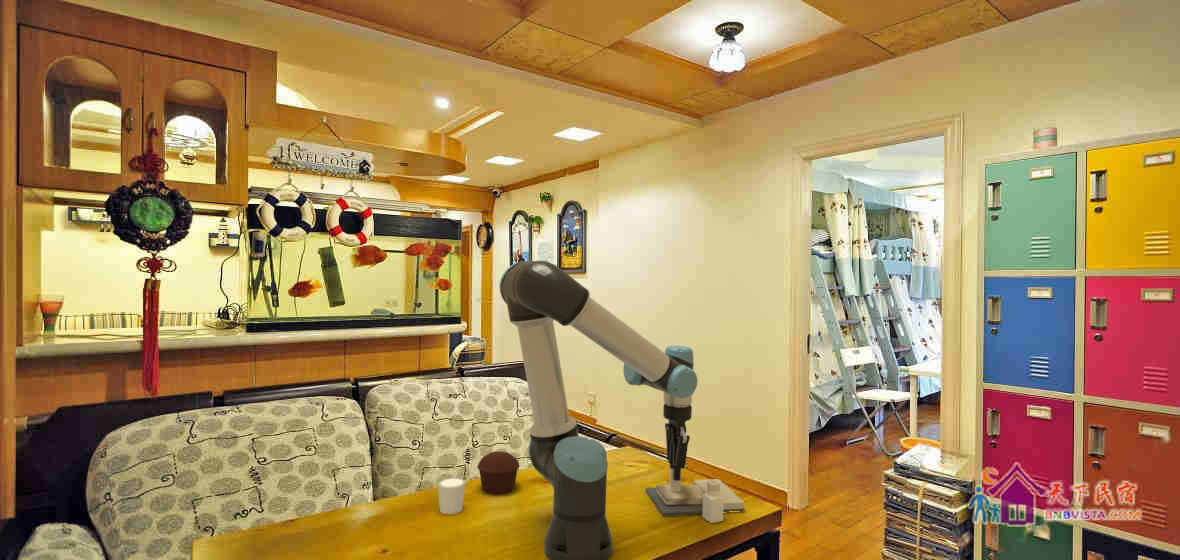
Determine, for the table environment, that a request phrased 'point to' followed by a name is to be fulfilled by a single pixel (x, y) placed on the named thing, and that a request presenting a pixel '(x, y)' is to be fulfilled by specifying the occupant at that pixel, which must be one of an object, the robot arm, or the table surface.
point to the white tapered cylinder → (451, 495)
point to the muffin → (498, 472)
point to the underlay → (729, 504)
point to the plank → (681, 495)
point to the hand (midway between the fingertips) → (674, 490)
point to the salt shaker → (713, 502)
